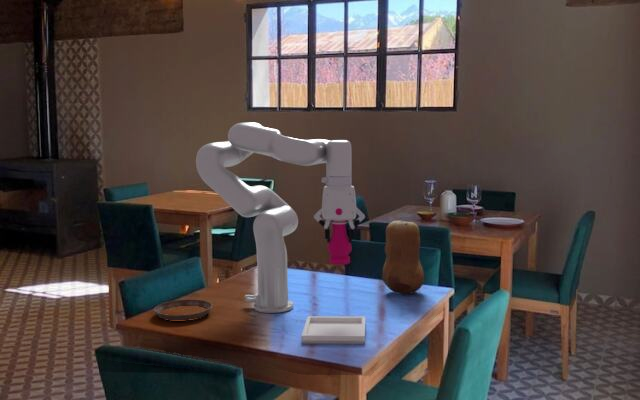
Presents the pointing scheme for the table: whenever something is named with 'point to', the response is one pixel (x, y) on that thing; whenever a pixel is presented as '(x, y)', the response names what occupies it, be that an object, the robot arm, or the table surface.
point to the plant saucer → (186, 302)
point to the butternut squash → (402, 258)
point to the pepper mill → (339, 242)
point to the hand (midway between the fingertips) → (339, 240)
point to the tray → (334, 330)
